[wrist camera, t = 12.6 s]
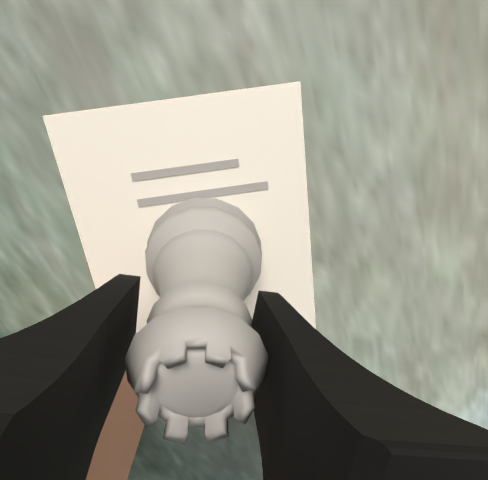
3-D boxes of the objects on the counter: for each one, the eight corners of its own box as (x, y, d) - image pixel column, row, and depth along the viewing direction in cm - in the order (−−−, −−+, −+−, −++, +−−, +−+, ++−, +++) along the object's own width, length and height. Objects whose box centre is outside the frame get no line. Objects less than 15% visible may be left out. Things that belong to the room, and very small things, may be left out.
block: (28, 334, 16) (-87, 461, 11) (129, 326, 16) (65, 451, 11) (58, 412, 18) (-28, 557, 12) (150, 406, 18) (104, 551, 12)
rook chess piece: (188, 170, 14) (158, 264, 7) (282, 234, 15) (346, 373, 8) (127, 261, 15) (44, 427, 8) (219, 313, 16) (222, 499, 9)
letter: (46, 115, 13) (41, 116, 13) (298, 81, 13) (300, 81, 13) (127, 382, 18) (125, 387, 17) (316, 353, 18) (318, 358, 18)
